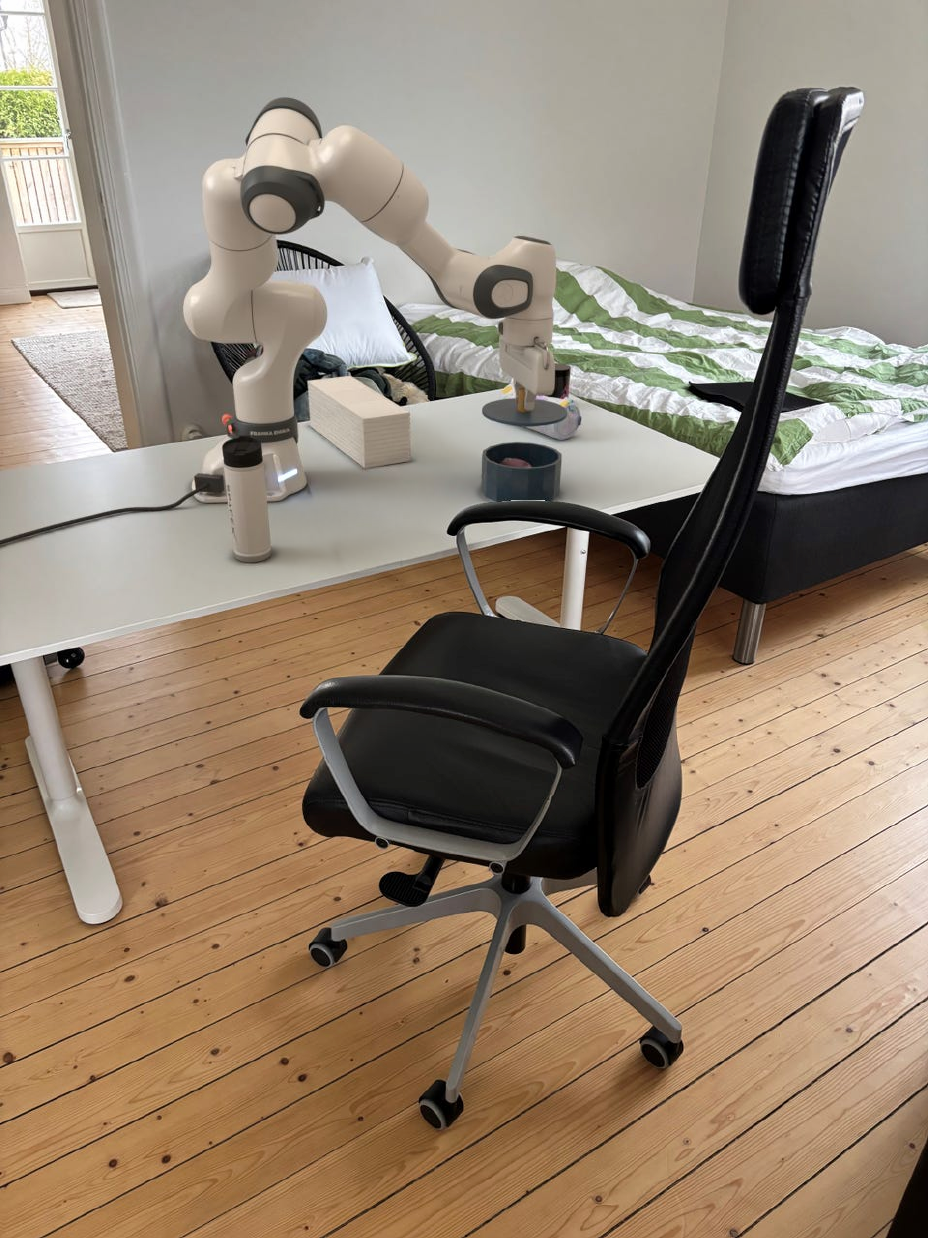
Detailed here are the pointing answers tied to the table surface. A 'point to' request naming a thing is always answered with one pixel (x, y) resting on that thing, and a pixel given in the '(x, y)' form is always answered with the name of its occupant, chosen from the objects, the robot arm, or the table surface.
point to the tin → (521, 472)
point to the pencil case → (558, 429)
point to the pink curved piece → (515, 463)
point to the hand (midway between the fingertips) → (524, 406)
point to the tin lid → (524, 412)
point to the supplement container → (561, 381)
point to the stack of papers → (359, 421)
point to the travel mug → (247, 498)
